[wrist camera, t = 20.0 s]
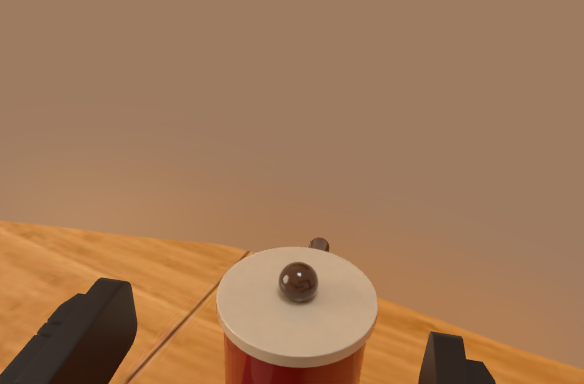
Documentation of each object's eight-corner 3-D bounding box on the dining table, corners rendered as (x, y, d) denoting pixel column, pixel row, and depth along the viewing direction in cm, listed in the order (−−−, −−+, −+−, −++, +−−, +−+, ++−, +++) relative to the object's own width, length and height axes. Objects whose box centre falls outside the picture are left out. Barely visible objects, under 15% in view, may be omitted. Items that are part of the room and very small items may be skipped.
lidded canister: (342, 547, 22) (380, 341, 16) (205, 516, 23) (189, 309, 17) (359, 347, 33) (387, 174, 26) (264, 330, 34) (268, 159, 27)
